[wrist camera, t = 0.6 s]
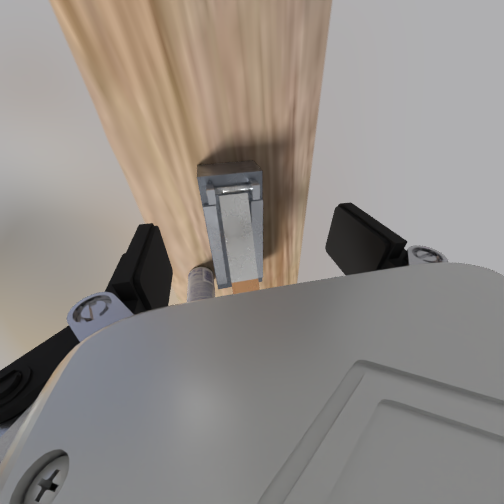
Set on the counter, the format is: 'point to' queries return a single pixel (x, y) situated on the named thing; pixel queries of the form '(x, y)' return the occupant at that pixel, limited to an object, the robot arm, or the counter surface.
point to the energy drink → (200, 284)
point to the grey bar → (239, 242)
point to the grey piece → (211, 187)
